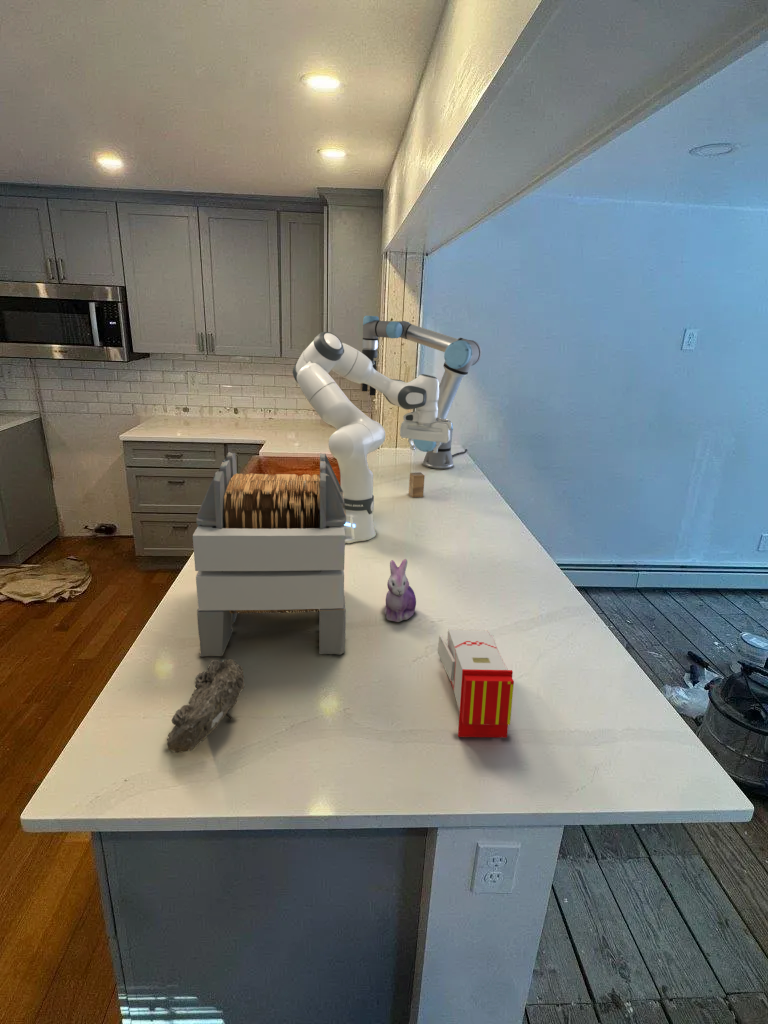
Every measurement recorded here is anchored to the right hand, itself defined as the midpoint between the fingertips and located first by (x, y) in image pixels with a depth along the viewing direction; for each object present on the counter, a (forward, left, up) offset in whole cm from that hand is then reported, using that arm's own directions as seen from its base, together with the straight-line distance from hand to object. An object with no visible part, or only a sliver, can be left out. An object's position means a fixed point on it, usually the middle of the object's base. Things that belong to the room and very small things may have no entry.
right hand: (368, 393), depth 284 cm
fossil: (+198, +30, -34) cm, 203 cm away
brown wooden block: (+49, +37, -34) cm, 71 cm away
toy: (+174, +76, -34) cm, 193 cm away
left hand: (+56, +41, -13) cm, 70 cm away
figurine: (+148, +55, -34) cm, 162 cm away
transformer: (+161, +26, -34) cm, 166 cm away
